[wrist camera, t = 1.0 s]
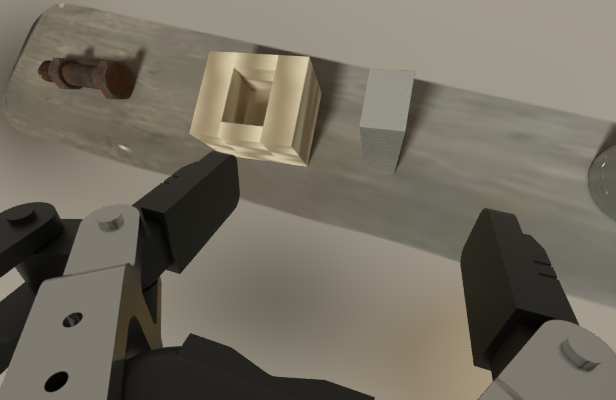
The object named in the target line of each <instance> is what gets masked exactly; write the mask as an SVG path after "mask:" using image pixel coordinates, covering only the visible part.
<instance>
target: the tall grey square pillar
mask: <svg viewBox="0 0 616 400" xmlns="http://www.w3.org/2000/svg"><path fill="white" fill-rule="evenodd" d="M414 74H415V71H405V70H388V69H373V68H370V72H369V77H368V83H367V88H366V94H365V100H364V105H363V111H362V116H361V122H360V134H361V143H362V151H363V159H364V168H365V171H372V172H379V173H387V174H394V173H395V169H396V165H397V161H398V158H399V154H400V150H401V146H402V142H403V138H404V135H405V130H406V124H407V118H408V111H409V105H410V99H411V93H412V87H413V80H414Z"/></svg>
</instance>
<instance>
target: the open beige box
mask: <svg viewBox="0 0 616 400" xmlns="http://www.w3.org/2000/svg"><path fill="white" fill-rule="evenodd" d="M321 95H322V93H321V90H320V87H319V84H318V81H317V78H316V75H315V72H314V69H313V66H312V63H311V60H310V57H304V56H286V55H268V54H250V53H231V52H213V51H210V52H209V56H208V60H207V64H206V68H205V73H204V77H203V81H202V85H201V89H200V93H199V97H198V101H197V105H196V109H195V113H194V117H193V121H192V125H191V129H190V133H189V134H191V135H193V136H194V137H196V138H197V139H199V140H201V141H202V142H204V143H205V144H207V145H209V146H210V147H212V148H213V149H215V150H216V151H218V152H222V153H227V154H231V155H234V156H236V157H243V158H250V159H257V160H265V161H272V162H279V163H286V164H293V165H300V166H308V161H309V156H310V150H311V145H312V140H313V135H314V130H315V125H316V120H317V115H318V110H319V105H320V100H321Z"/></svg>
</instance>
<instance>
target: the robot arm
mask: <svg viewBox="0 0 616 400" xmlns="http://www.w3.org/2000/svg"><path fill="white" fill-rule="evenodd" d="M588 184H589V189H590V193H591V196H592V197H593V199H594V201H595V203H596V204H597V205H598V207H599V208H600V209H601V210H602V211H603V212H604V213H605V214H607V215H608V216H609V217H611V218H612V219H614V220H616V145H613V146H611V147H609V148H607V149H606V150H605V151H603V152H602V153H600V154H599V156H598V157H597V158H596V159H595V160H594V162H593V164H592V166H591V168H590V171H589V176H588ZM239 196H240V191H239V178H238V166H237V159H236V157H235V156H234V155H231V154H227V153H222V152H217V151H211V152H210V153H209V154H207V155H206V156H205V157H204V158H202V159H201V160H200V161H198V162H194V163H192V164H189V165H187V166H184V167H182V168H181V169H179V170H178V171H177V172H175V173H174V174H173V175H172V177H169V178H168V179H166V180H165V181H164V183H161V184H160V185H158V186H157V187H156V188H154V189H153V190H152V191H150V192H149V193H148V194H146V195H145V196H144V197H142V198H141V199H140V200H138V201H137V202H136V203H135V204H133V205H132V206H130V205H122V204H121V205H111V206H106V207H103V208H100V209H98V210H96V211H94V212H92V213H90V214H89V215H87V216H86V217H85V218H84V219H60V217H59V215H58V213H57V211H56V209H55V207H54V206H53V205H51V204H49V203H43V202H33V203H27V204H22V205H19V206H16V207H13V208H10V209H8V210H5V211H3V212H2V213H0V277H2V276H3V275H5V274H6V273H7V272H9V271H10V270H11V269H13V268H14V267H15V268H16V269H17V271H18V272H19V273H20V275H21V276H22V277H23V279H24V280H25V283H23V284H22V285H21V286H20V287H18V288H17V289H16V290H15V291H13V292H12V293H11V294H10V295H8V296H7V297H6V298H5V299H3V300H2V301H1V302H0V374H1V373H3V372H4V371H5V370H6V369H7V368H8V370H7V372H6V375H5V378H4V380H3V382H2V385H1V388H0V400H374V399H375V398H374V397H372V396H369V395H366V394H363V393H361V392H358V391H355V390H352V389H349V388H346V387H343V386H340V385H338V384H335V383H332V382H329V381H326V380H317V379H302V378H287V377H275V376H271V375H269V374H267V373H266V372H265V371H263V370H262V369H260V368H259V367H257V366H256V365H255V364H253V363H252V362H251V361H249V360H248V359H247V358H245V357H244V356H242V355H241V354H240V353H238V352H237V351H236V350H234V349H233V348H231V347H229V346H226V345H222V344H220V343H217V342H214V341H212V340H209V339H206V338H203V337H200V336H197V335H194V334H191V333H190V335H189V336H188V337H187V339H186V340H185V342H184V343H183V345H182V346H177V347H165V348H163V344H162V339H161V287H162V284H161V283H162V282H161V278H160V275H161V274H162V273H163V272H164V271H165V270H169V271H172V272H175V273H179V274H181V272H182V271H183V270H184V269H185V268H186V266H187V265H188V264H189V263H190V262H191V260H192V259H193V258H194V257H195V256H196V255H197V253H198V252H199V251H200V250H201V249H202V247H203V246H204V245H205V244H206V243H207V241H208V240H209V239H210V238H211V237H212V236H213V234H214V233H215V232H216V231H217V230H218V228H219V227H220V226H221V225H222V224H223V222H224V221H225V220H226V219H227V218H228V217H229V215H230V214H231V213H232V212H233V211H234V209H235V208H236V206H237V204H238V201H239ZM461 272H462V280H463V287H464V295H465V302H466V310H467V318H468V325H469V333H470V339H471V348H472V355H473V363H474V366H477V367H480V368H484V369H487V370H490V371H491V372H492V378H493V382H492V383H491V385H490V386H489V387H488V388H487V389H486V390H485V391H484V393H483V394H482V395H481V396H480V397H479V399H478V400H616V354H615V352H614V351H613V350H612V349H611V348H610V347H609V346H608V345H607V344H606V343H605V342H604V341H602V340H601V339H600V338H599V337H598V336H596V335H595V334H593V333H592V332H590V331H588V330H587V329H585V328H583V327H581V326H579V323H578V321H577V319H576V317H575V315H574V313H573V310H572V308H571V306H570V304H569V302H568V300H567V297H566V295H565V293H564V291H563V289H562V286H561V284H560V282H559V280H557V275H556V273H555V271H554V269H553V267H551V262H550V260H549V258H548V256H547V254H546V251H545V250H544V248H543V247H542V246H541V245H540V244H539V243H538V242H537V241H536V240H535V239H534V238H533V237H532V236H531V235H527V234H523V233H522V230H521V228H520V225H519V223H518V220H517V218H516V216H515V215H514V214H511V213H506V212H501V211H497V210H492V209H487V208H485V209H483V210H482V212H481V213H480V215H479V217H478V219H477V221H476V223H475V225H474V227H473V229H472V231H471V233H470V235H469V237H468V239H467V241H466V244H465V246H464V248H463V251H462V255H461Z"/></svg>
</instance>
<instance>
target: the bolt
mask: <svg viewBox="0 0 616 400" xmlns="http://www.w3.org/2000/svg"><path fill="white" fill-rule="evenodd" d="M38 73H39V75H42V77H41V78H42V79H44V80H45V81H48V82H54V83H55V84H56V85H57V86H58V87H59V88H61V89H81V87H87V88H94V89H100V90H101V91H102V93H103V94H104V96H105V97H106V98H107V99H128V98H129V97H130V95H131V94H132V91H133V88H134V76H133V74H132V72H131V70H130V69H129V67H128V66H127V65H126V64H125V63H124V62H114V61H100V64H99V67H97V66H90V65H82V64H80V63H79V62H78V61H77V60H76V59H67V58H53V60H52V61H49V60H48V61H44V62H43V63H42V64H41V66H40V67H39V69H38Z"/></svg>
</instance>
